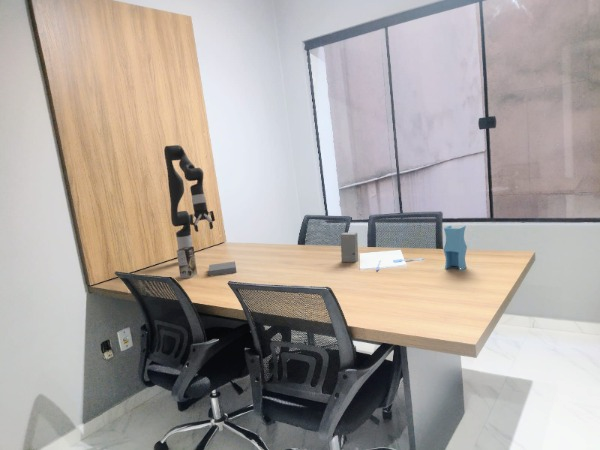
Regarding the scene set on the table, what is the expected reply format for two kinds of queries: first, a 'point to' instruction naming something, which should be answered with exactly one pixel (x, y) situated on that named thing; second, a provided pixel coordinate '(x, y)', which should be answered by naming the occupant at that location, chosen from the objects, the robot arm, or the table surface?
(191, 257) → the coffee box
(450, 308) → the table surface
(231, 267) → the riser
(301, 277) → the table surface
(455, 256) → the vase
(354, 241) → the skincare box
